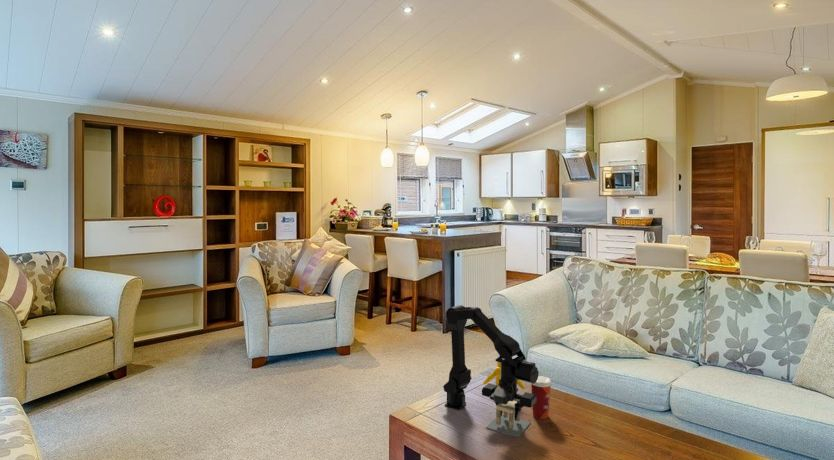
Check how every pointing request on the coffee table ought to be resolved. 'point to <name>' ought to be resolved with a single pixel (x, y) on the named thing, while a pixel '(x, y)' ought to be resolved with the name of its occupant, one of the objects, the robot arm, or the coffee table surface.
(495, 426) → the felt pad
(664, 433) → the coffee table surface
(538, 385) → the paper cup
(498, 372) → the figure statuette
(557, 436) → the coffee table surface
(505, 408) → the stool
